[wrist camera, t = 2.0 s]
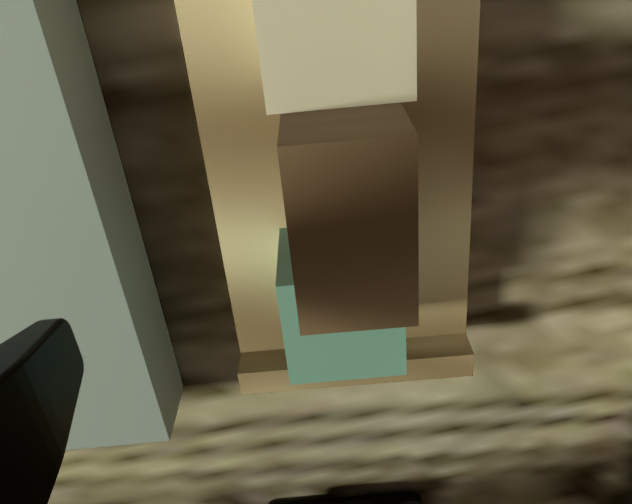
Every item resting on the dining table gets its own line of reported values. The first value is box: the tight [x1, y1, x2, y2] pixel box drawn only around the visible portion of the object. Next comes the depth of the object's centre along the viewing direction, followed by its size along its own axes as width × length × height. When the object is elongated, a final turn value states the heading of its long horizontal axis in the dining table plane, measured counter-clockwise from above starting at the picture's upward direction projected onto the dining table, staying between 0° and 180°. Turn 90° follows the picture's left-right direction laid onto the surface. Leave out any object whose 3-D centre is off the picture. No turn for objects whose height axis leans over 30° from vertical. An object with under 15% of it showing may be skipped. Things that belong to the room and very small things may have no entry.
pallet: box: [174, 0, 481, 394], centre depth 14 cm, size 14×7×7 cm, turn 5°
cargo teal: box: [275, 228, 407, 385], centre depth 16 cm, size 3×3×3 cm
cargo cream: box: [252, 0, 417, 115], centre depth 12 cm, size 3×3×3 cm
